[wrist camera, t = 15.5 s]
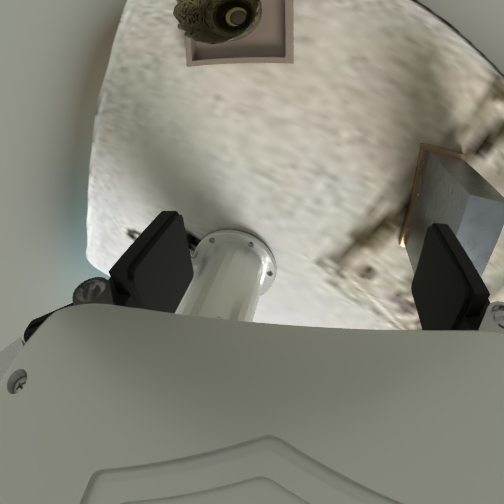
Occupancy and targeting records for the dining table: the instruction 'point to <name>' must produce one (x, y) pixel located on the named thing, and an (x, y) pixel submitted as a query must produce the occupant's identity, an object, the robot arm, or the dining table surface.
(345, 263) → the dining table surface
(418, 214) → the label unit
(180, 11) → the cup
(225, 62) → the tray
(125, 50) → the dining table surface
